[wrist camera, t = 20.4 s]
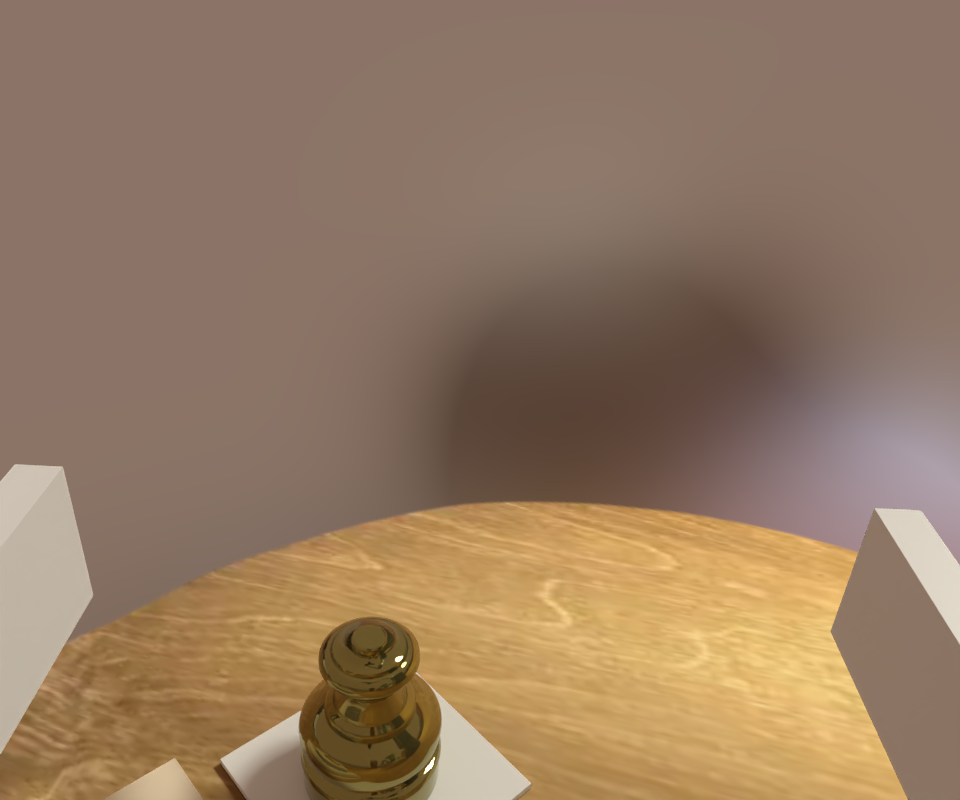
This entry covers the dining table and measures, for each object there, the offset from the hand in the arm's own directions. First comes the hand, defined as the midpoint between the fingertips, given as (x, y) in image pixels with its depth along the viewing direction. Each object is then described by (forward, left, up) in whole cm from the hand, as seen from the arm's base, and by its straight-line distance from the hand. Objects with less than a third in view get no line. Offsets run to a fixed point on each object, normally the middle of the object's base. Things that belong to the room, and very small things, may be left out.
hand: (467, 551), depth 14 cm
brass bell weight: (-10, -17, -32) cm, 37 cm away
